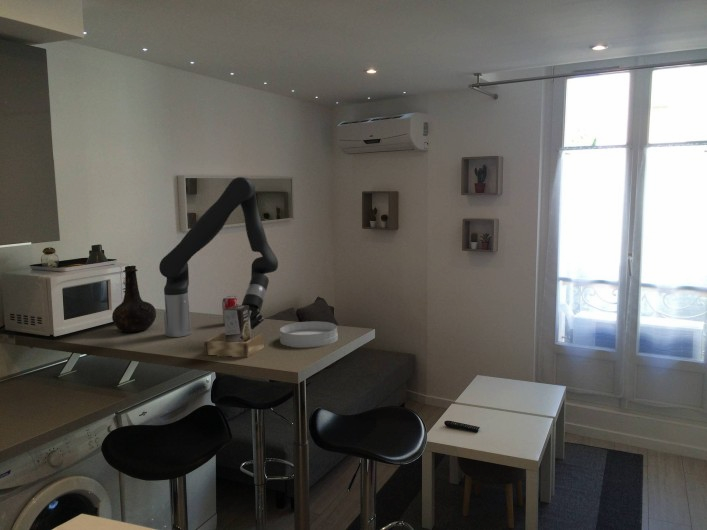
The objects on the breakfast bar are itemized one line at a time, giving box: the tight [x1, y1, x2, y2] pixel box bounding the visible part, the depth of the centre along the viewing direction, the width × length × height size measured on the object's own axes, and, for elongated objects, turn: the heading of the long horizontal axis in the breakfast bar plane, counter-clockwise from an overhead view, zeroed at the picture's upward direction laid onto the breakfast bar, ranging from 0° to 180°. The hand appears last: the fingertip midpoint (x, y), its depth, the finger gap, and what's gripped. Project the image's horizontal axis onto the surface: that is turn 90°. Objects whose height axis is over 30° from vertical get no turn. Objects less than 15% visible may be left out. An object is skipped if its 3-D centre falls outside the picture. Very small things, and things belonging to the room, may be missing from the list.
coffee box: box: [224, 304, 252, 342], centre depth 199 cm, size 9×6×16 cm
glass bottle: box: [111, 265, 157, 333], centre depth 239 cm, size 18×18×28 cm
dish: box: [279, 320, 339, 348], centre depth 213 cm, size 22×22×5 cm
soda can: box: [221, 295, 240, 324], centre depth 246 cm, size 7×7×12 cm
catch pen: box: [203, 332, 265, 358], centre depth 200 cm, size 16×13×5 cm
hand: (241, 337), depth 204 cm, fingers closed
